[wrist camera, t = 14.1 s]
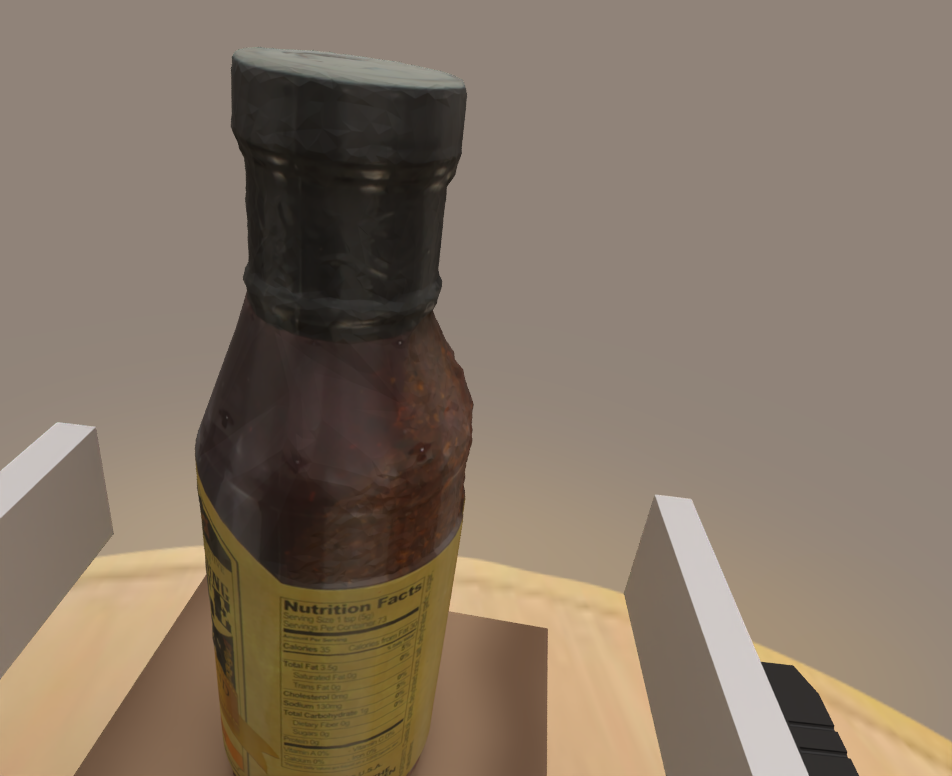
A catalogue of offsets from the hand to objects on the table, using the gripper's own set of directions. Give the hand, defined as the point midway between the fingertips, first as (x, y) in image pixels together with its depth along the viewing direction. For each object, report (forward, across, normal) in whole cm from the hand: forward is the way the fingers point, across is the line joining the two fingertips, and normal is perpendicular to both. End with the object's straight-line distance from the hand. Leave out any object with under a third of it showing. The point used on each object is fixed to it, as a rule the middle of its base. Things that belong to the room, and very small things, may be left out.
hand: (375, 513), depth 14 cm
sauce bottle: (+2, -1, -12) cm, 12 cm away
